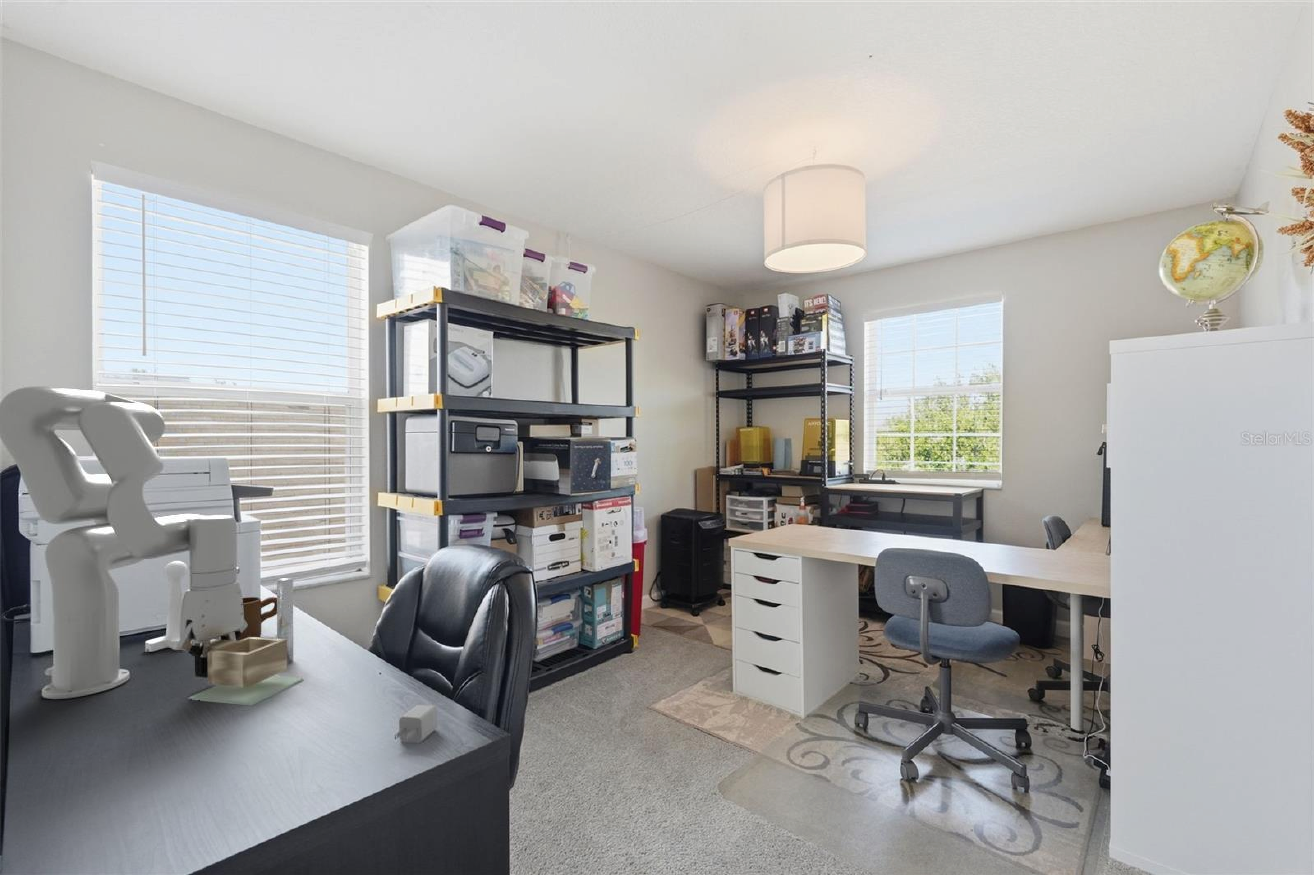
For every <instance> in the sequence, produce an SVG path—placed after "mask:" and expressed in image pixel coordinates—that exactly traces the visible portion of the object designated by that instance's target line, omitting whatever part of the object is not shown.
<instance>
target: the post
mask: <svg viewBox="0 0 1314 875" xmlns="http://www.w3.org/2000/svg"><path fill="white" fill-rule="evenodd" d="M276 598H277V614H276V639H287V665H288V664H291V663H293V662H294V658H295V657H294V578H293V577H283V578H282V577H281V578H278V579H276Z"/></svg>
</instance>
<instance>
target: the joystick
mask: <svg viewBox="0 0 1314 875" xmlns="http://www.w3.org/2000/svg"><path fill="white" fill-rule="evenodd" d="M187 574H188V566H187V564H186V563H185V562H183V561H181V560H173V561H170V562H169V563H168V564H166V565H165V566H164V569H163V575H164V577H165V578H166V579H168V582H169V585H168V600H167V617H166V628H165V629H166V633H165V635H163V636H159V637H155V638H152V639H148V640H146V641H145V644H144V645H145V652H146V653H149V652H151V653H152V652H155V651H158V650H163V649H165V648H166V649H167V648H170V649H172V650H174V651H180V650H181V649H178V648H177V645H178V643H179V641H180V617H181V608H182V602H183V598H184V594H183V593H184V592H183V579H184V577H185V576H186V575H187ZM191 644H193V639H192V640H191ZM181 651H182V650H181Z"/></svg>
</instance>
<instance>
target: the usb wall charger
mask: <svg viewBox="0 0 1314 875" xmlns="http://www.w3.org/2000/svg"><path fill="white" fill-rule="evenodd" d="M437 713H438V710H437V708H436V706H434V705H426V704H423V705H422V704H416V705H415V706H414V707H412V708H411V709H410V710H409V711H407V712H406V713H405V714H403V715H402V716H400V718H399V720H398V732H396V733H395V734H394V740H397V739H399V740H400V741H401V742H403V743H404V742H405V743H416V744H420V743H422V742H423V741H424V740H425V739H426V738H428V737H429V736H430V735H431V734H432V733H433V732H434V731H435V730H436V729H437V728H438V714H437Z"/></svg>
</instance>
